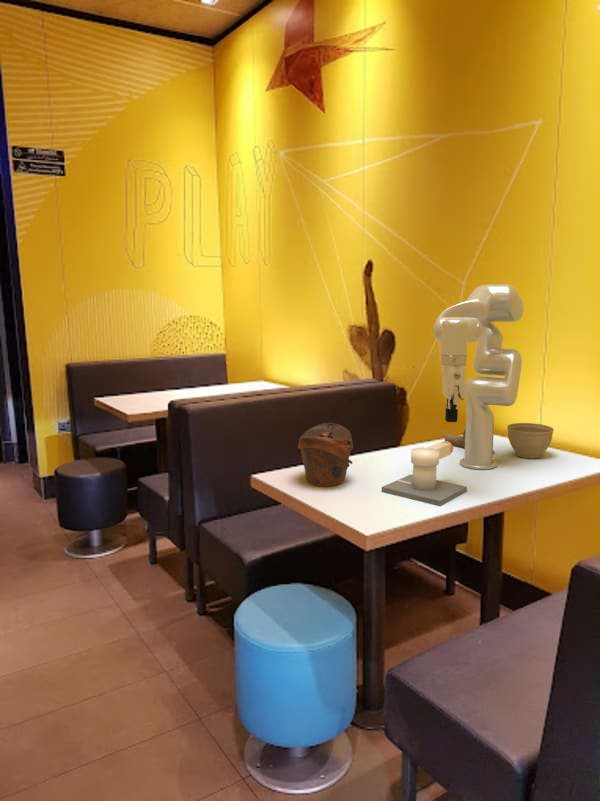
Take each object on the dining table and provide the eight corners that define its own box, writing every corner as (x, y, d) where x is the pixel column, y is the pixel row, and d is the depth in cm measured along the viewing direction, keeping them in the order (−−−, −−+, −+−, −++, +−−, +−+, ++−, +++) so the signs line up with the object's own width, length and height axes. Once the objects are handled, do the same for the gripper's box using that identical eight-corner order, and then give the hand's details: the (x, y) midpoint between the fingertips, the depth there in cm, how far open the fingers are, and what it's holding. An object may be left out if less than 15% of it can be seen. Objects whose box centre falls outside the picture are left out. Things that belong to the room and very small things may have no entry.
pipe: (451, 441, 246) (452, 418, 244) (483, 450, 232) (484, 425, 230) (440, 443, 242) (441, 419, 240) (471, 452, 228) (473, 427, 227)
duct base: (410, 478, 196) (410, 452, 195) (466, 491, 183) (468, 463, 182) (381, 491, 184) (381, 463, 182) (440, 506, 171) (441, 475, 169)
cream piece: (430, 469, 176) (430, 454, 175) (405, 464, 181) (406, 450, 181) (458, 456, 189) (459, 443, 189) (435, 452, 195) (435, 439, 194)
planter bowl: (497, 455, 224) (499, 427, 222) (519, 448, 235) (520, 421, 233) (539, 464, 212) (540, 434, 210) (559, 455, 223) (561, 427, 221)
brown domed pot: (312, 493, 182) (312, 436, 179) (289, 476, 200) (289, 424, 198) (364, 487, 189) (365, 431, 186) (336, 470, 207) (337, 420, 204)
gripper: (472, 363, 169) (470, 426, 172) (459, 358, 184) (457, 416, 187) (446, 363, 169) (444, 426, 172) (435, 358, 184) (433, 416, 187)
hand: (451, 421), depth 179 cm, fingers closed
